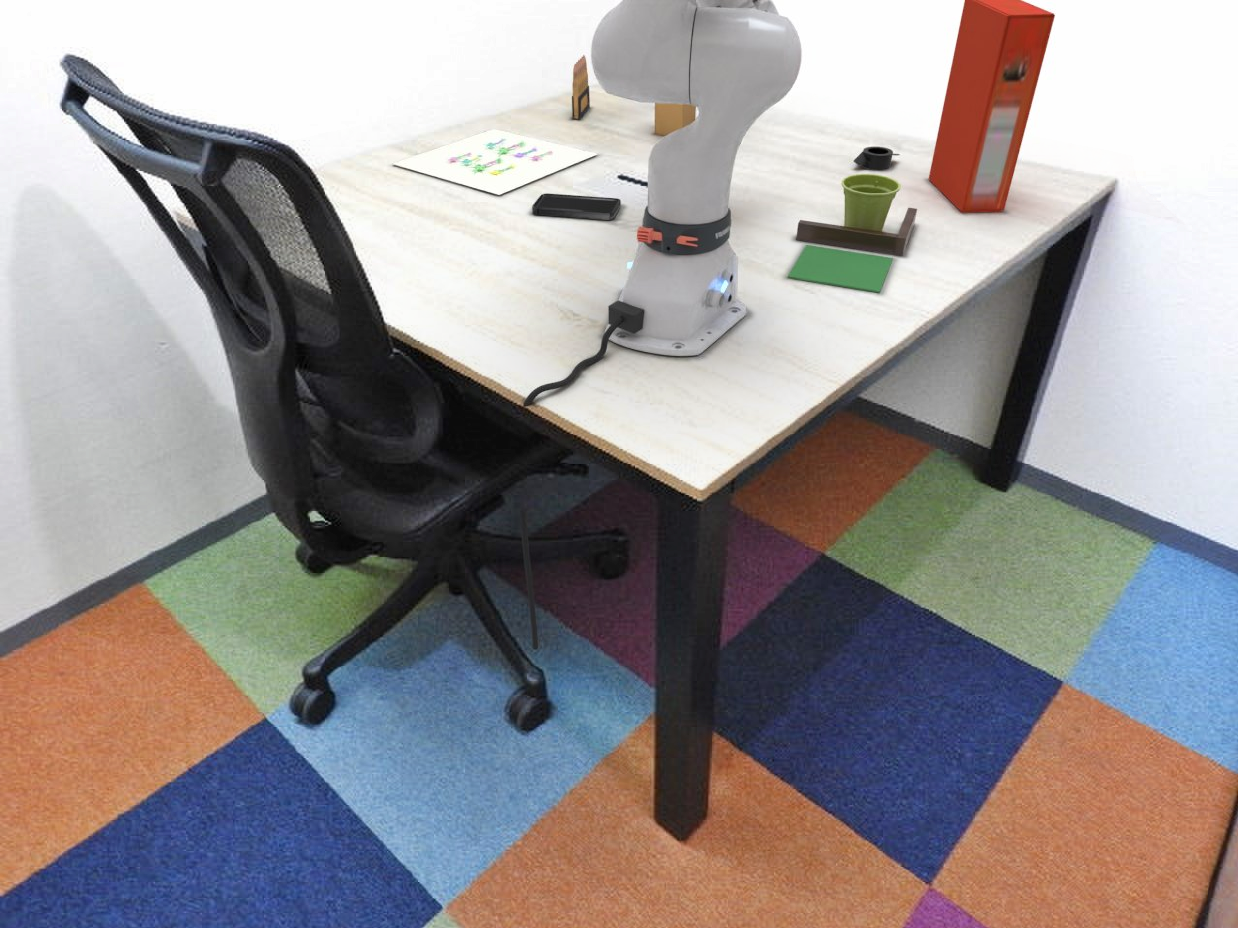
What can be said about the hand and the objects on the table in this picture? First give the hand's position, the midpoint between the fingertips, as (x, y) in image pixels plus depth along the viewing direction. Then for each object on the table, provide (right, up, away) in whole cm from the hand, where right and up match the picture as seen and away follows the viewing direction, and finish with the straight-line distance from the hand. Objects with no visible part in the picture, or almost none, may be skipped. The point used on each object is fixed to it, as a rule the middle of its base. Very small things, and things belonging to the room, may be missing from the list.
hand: (770, 84), depth 140 cm
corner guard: (+16, -22, +8) cm, 28 cm away
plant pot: (+17, -22, +8) cm, 29 cm away
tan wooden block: (-12, +12, +53) cm, 56 cm away
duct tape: (+28, -1, +36) cm, 45 cm away
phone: (-32, -15, +17) cm, 39 cm away
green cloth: (+11, -31, -3) cm, 32 cm away
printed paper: (-50, +1, +39) cm, 63 cm away
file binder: (+40, -11, +22) cm, 47 cm away
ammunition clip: (-33, +22, +67) cm, 78 cm away
